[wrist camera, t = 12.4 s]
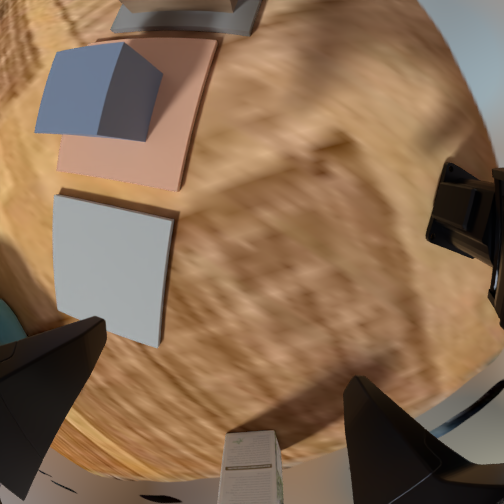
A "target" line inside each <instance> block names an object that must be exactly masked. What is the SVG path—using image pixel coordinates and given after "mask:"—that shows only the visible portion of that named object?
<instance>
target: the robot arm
mask: <svg viewBox="0 0 504 504" xmlns="http://www.w3.org/2000/svg"><path fill="white" fill-rule="evenodd" d="M449 166H450V171H449ZM492 175H493V178H494V183H490V182H485V181H480V180H478V179H477V178H475V177H474V176H472V175H471V174H469V173H468V172H466V171H465V170H463V169H461V168H460V167H458V166H456V165H455V164H453V163H450V162H447V163H445V164H444V168H443V172H442V177H441V181H440V185H439V189H438V193H437V197H436V200H435V204H434V208H433V211H432V216H431V219H430V222H429V226H428V229H427V232H426V239H427V241H429V242H431V243H433V244H436V245H438V246H441V247H444V248H446V249H449V250H451V251H454V252H456V253H459V254H461V255H464V256H466V257H469V258H471V259H474V258H477V259H478V260H480V261H482V262H484V263H486V264H487V265H489V266H491V267H492V268H493V271H492V279H491V286H490V289H489V291H488V299H489V300H490V302H491V304H492V305H493V307H494V308H495V310H496V313H497V315H498V317H499V318H500V323H499V324H500V326H501V327H502V328H503V329H504V168H494V169H492ZM431 234H433V237H432V238H431ZM106 340H107V332H106V321H105V320H104V319H103V318H100V317H98V316H92V317H89V318H86V319H83V320H80V321H77V322H74V323H71V324H68V325H65V326H62V327H59V328H55V329H52V330H49V331H46V332H43V333H40V334H37V335H34V336H30V337H27V338H24V339H21V340H18V341H15V342H11V343H8V344H5V345H1V346H0V486H1V484H2V485H4V486H5V487H6V488H7V489H8V490H10V491H11V492H12V493H14V494H15V495H16V496H18V497H19V498H20V499H22V500H23V501H24V500H25V498H26V496H27V493H28V491H29V489H30V486H31V484H32V482H33V480H34V478H35V476H36V474H37V471H38V469H39V467H40V465H41V463H42V461H43V458H44V457H45V455H46V453H47V451H48V449H49V447H50V445H51V443H52V441H53V439H54V437H55V435H56V434H57V432H58V430H59V428H60V426H61V424H62V423H63V421H64V419H65V417H66V415H67V414H68V412H69V410H70V408H71V407H72V405H73V403H74V402H75V400H76V398H77V397H78V395H79V393H80V391H81V390H82V388H83V387H84V385H85V383H86V382H87V380H88V378H89V377H90V375H91V373H92V371H93V369H94V367H95V364H96V362H97V360H98V358H99V356H100V354H101V352H102V350H103V348H104V346H105V344H106ZM343 401H344V425H345V435H346V442H347V449H348V456H349V464H350V472H351V481H352V490H353V500H354V504H504V463H500V464H486V465H480V464H475V463H472V462H470V461H468V460H467V459H465V458H464V457H462V456H461V455H459V454H458V453H456V452H454V451H453V450H452V449H450V448H449V447H448V446H446V445H445V444H444V443H442V442H441V441H439V440H438V439H437V438H436V437H435V436H433V435H432V434H431V433H430V432H429V431H427V430H426V429H424V427H422V426H421V425H420V424H419V423H418V422H417V421H416V420H414V419H413V418H412V417H411V416H410V415H409V414H407V413H406V412H405V411H404V410H403V409H402V408H401V407H399V406H398V405H397V404H396V403H395V402H394V401H392V400H391V399H390V398H389V397H388V396H387V395H386V394H384V393H383V392H382V391H381V390H380V389H379V388H378V387H376V386H375V385H374V384H373V383H372V382H371V381H370V380H369V379H367V378H366V377H365V376H358V375H356V376H354V377H353V378H352V379H351V381H350V382H349V384H348V386H347V387H346V389H345V391H344V394H343ZM0 504H2V502H1V500H0Z"/></svg>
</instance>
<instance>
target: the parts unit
mask: <svg viewBox="0 0 504 504" xmlns="http://www.w3.org/2000/svg"><path fill="white" fill-rule="evenodd" d="M119 1H120V2H121V3H122V6H121V8H120V10H119V12H118V14H117V16H116V18H115V20H114V23H113V25H112V27H111V29H110V30H111V31H112V32H114V33H122V32H134V31H152V30H188V31H206V32H218V33H228V34H236V35H243V36H250V34H251V31H252V28H253V25H254V22H255V19H256V16H257V13H258V10H259V7H260V5H261V2H262V0H119Z"/></svg>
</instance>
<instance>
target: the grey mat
mask: <svg viewBox="0 0 504 504" xmlns="http://www.w3.org/2000/svg"><path fill="white" fill-rule="evenodd" d="M173 225H174V219H170V218H166V217H161V216H157V215H152V214H148V213H143V212H139V211H135V210H130V209H125V208H121V207H116V206H112V205H107V204H103V203H98V202H93V201H89V200H84V199H79V198H75V197H70V196H65V195H60V194H57V195H54V205H53V266H54V280H55V291H56V300H57V308H58V310H59V311H61V312H63V313H65V314H68V315H70V316H72V317H74V318H77V319H79V320H83V319H86V318H89V317H92V316H98V317H100V318H103V319H104V320H105V321H106V331H109V332H112V333H114V334H117V335H120V336H122V337H125V338H128V339H131V340H134V341H137V342H140V343H143V344H146V345H149V346H152V347H155V348H158V347H159V345H160V337H161V323H162V312H163V301H164V291H165V282H166V274H167V266H168V258H169V251H170V244H171V237H172V231H173Z"/></svg>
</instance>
